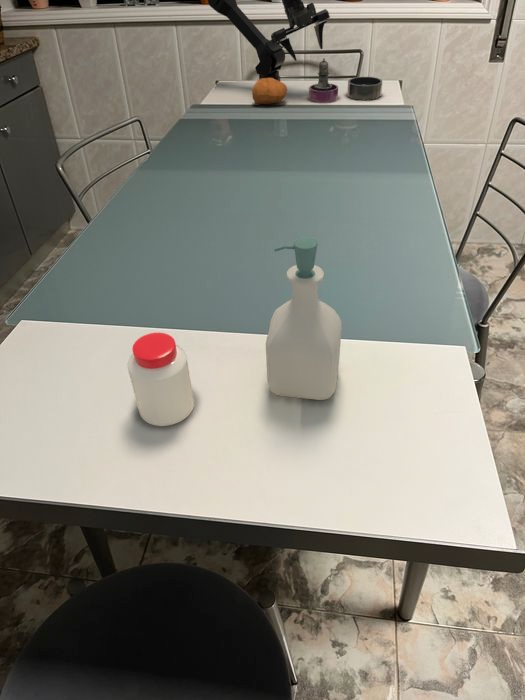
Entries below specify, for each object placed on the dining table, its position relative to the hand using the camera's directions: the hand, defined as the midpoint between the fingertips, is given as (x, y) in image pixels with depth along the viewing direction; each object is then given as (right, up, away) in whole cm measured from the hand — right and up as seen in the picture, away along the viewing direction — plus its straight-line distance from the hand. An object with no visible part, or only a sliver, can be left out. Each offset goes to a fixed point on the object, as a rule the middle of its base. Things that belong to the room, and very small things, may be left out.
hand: (308, 54), depth 180 cm
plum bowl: (+5, -12, +5) cm, 14 cm away
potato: (-12, -14, +3) cm, 19 cm away
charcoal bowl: (+19, -11, +6) cm, 23 cm away
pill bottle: (-29, -104, -102) cm, 149 cm away
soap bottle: (-9, -101, -99) cm, 142 cm away
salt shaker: (+5, -12, +5) cm, 14 cm away
